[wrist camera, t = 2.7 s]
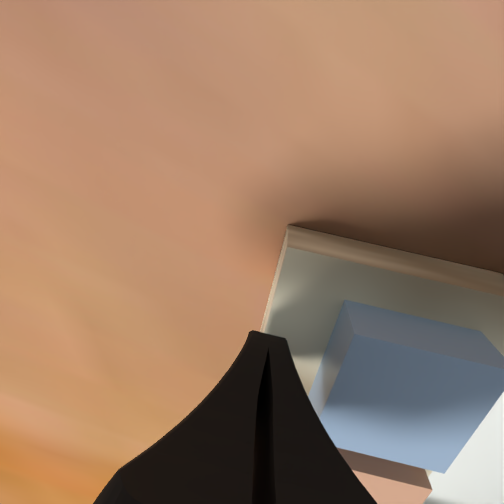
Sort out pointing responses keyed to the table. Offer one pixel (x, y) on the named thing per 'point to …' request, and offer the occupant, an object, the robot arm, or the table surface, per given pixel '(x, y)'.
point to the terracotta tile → (389, 479)
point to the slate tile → (404, 385)
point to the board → (371, 292)
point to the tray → (475, 466)
